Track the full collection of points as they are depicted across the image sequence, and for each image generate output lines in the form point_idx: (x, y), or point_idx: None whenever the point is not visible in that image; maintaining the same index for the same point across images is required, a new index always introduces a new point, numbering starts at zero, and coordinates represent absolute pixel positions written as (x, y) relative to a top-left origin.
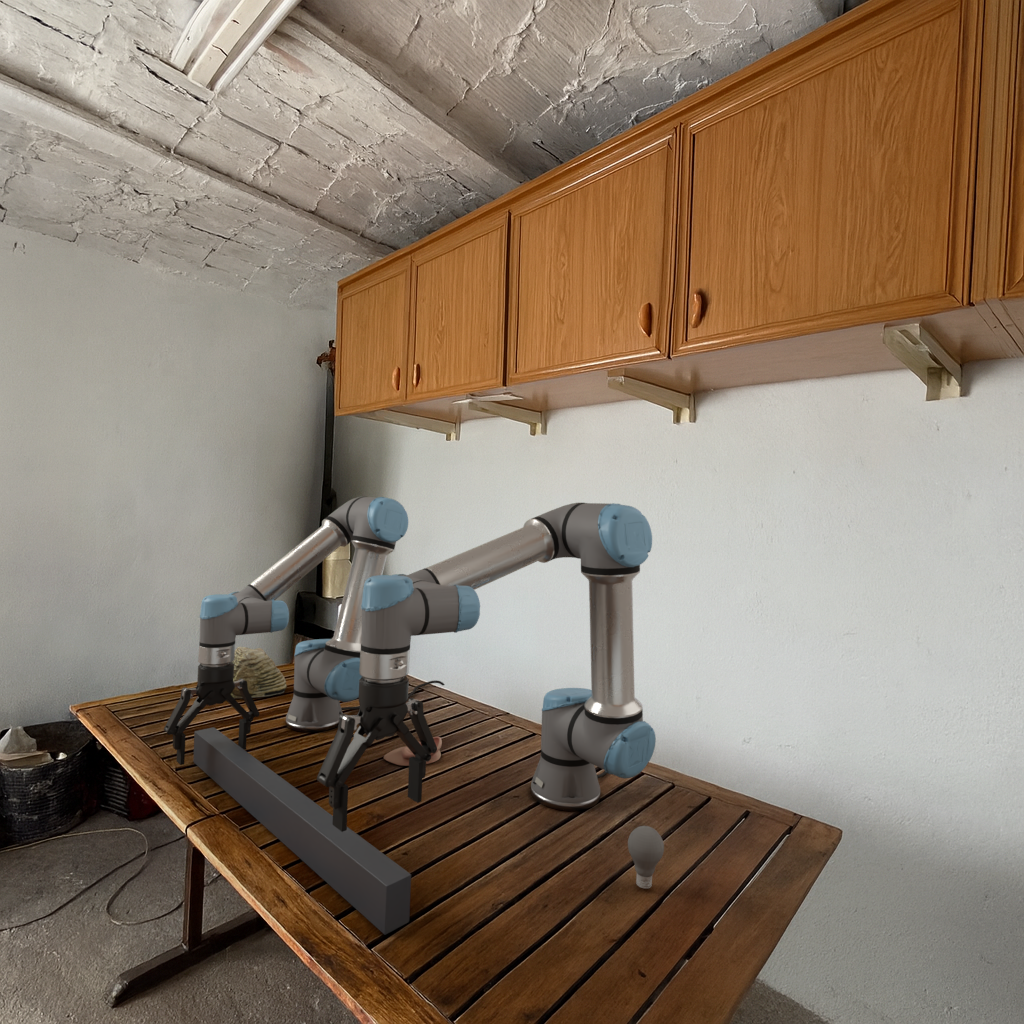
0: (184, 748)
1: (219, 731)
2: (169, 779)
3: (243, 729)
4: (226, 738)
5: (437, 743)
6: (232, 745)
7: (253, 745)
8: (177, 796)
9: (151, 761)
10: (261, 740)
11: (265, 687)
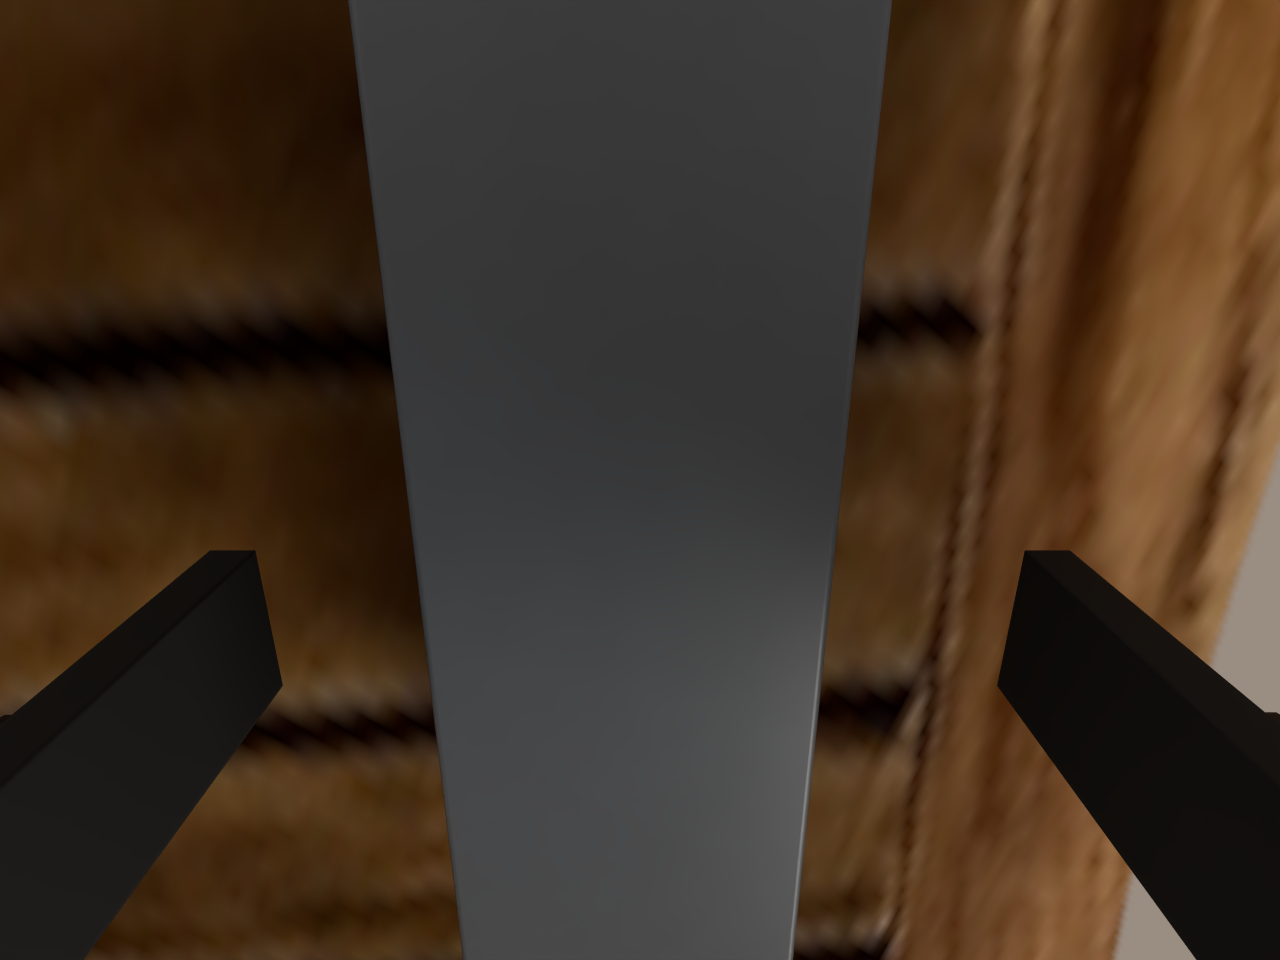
0: (1172, 676)
1: (464, 949)
2: (1058, 539)
3: (38, 764)
4: (462, 597)
5: None
6: (479, 84)
7: None
8: (1244, 41)
9: (970, 951)
10: None
11: None
